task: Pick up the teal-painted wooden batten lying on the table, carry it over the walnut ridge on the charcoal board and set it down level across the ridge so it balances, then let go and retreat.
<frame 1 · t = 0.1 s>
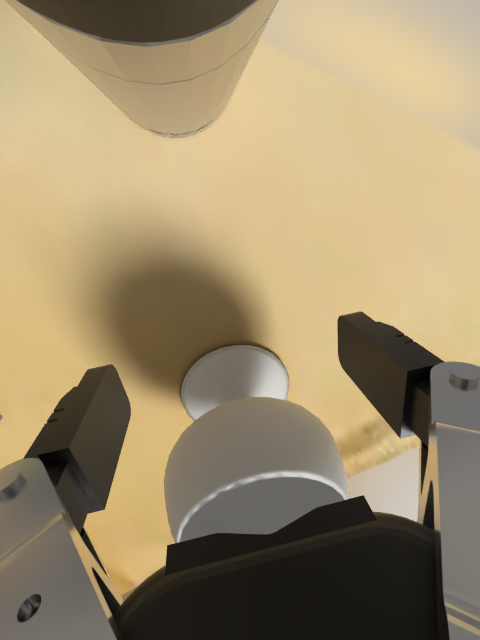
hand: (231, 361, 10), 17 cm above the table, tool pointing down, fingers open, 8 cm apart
chalice: (235, 388, 33), on the table
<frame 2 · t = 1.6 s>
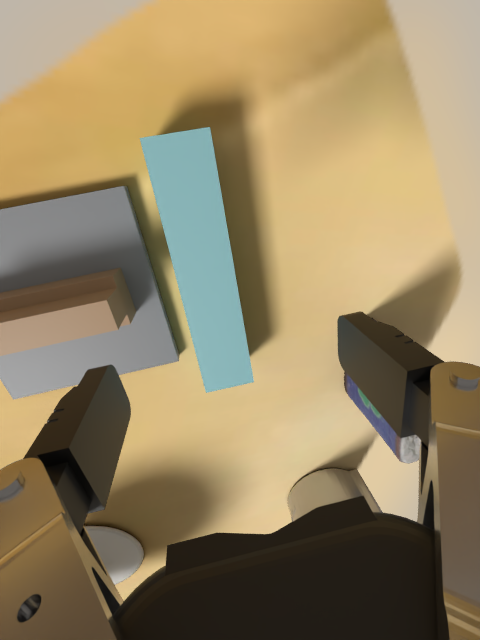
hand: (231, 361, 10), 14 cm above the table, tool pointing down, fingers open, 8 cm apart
flask: (357, 357, 30), on the table
fulcrum: (67, 300, 23), on the table
batten: (205, 269, 24), on the table
chalice: (92, 553, 35), on the table
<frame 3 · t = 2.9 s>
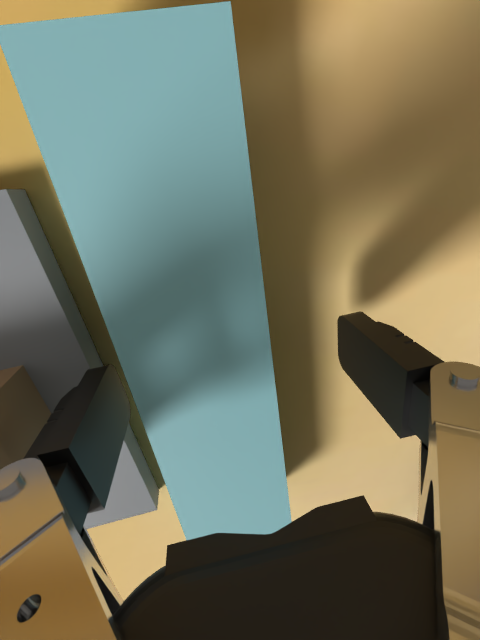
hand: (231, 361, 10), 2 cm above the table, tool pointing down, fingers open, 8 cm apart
batten: (205, 349, 12), on the table
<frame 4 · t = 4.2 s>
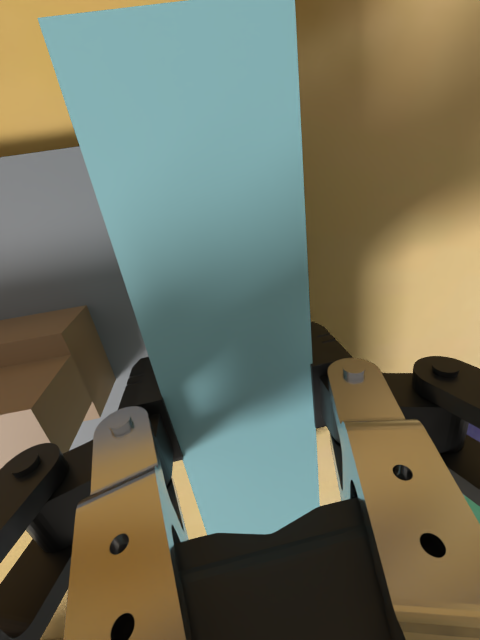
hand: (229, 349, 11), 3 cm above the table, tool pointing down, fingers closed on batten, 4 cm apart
flask: (452, 434, 20), on the table
batten: (231, 357, 12), point 2 cm above the table, touching gripper
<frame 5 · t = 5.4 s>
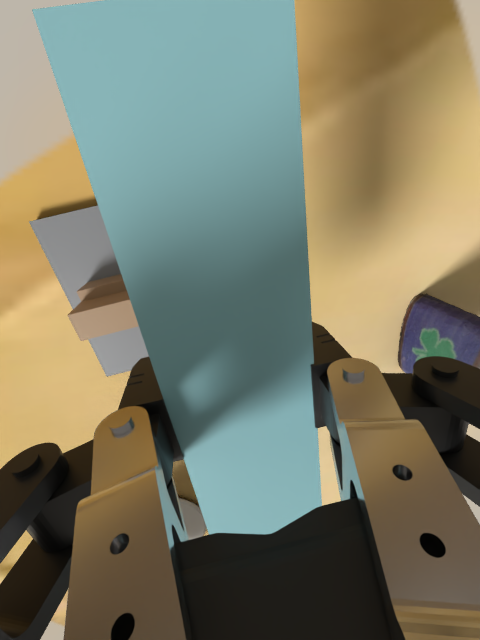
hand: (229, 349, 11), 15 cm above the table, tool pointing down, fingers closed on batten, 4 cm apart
flask: (411, 332, 32), on the table
fulcrum: (157, 284, 25), on the table
batten: (232, 355, 12), point 15 cm above the table, touching gripper
chalice: (160, 523, 38), on the table
when the fingers open (7 cm above the table, at t = 7.5 s): batten stays where it is, resting on fulcrum.
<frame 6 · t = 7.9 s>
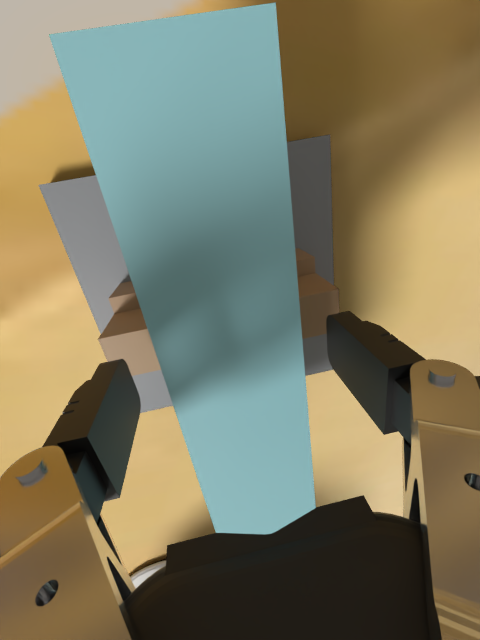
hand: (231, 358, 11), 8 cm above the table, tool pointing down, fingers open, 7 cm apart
fulcrum: (216, 290, 18), on the table
batten: (229, 345, 13), point 6 cm above the table, touching fulcrum
chalice: (179, 585, 31), on the table
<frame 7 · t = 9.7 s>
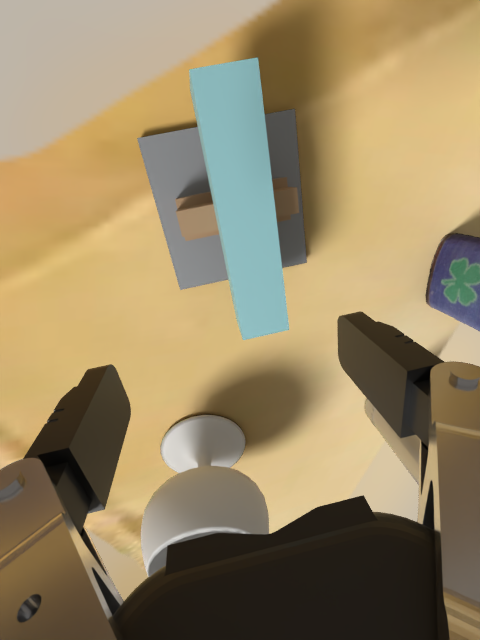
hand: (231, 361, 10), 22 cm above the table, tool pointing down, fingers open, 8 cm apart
flask: (438, 270, 36), on the table
fulcrum: (231, 207, 29), on the table
batten: (240, 219, 24), point 6 cm above the table, touching fulcrum
chalice: (203, 444, 43), on the table
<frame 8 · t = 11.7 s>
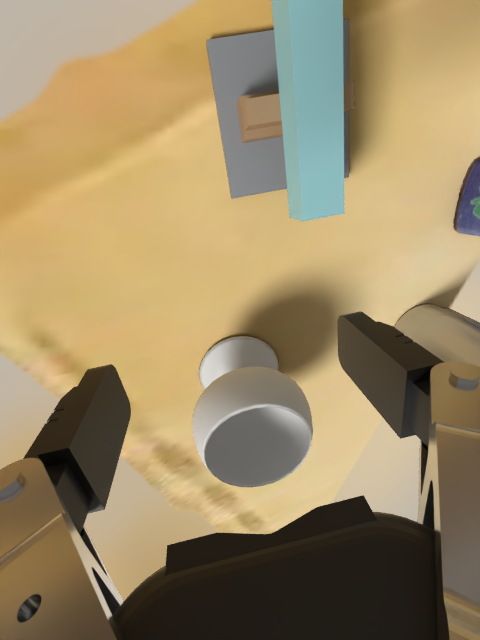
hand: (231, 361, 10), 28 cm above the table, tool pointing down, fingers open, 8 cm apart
flask: (466, 196, 39), on the table
fulcrum: (283, 118, 32), on the table
batten: (302, 110, 27), point 6 cm above the table, touching fulcrum
chalice: (239, 369, 45), on the table
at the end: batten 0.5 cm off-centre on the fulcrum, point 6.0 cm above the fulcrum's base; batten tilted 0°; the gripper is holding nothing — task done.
